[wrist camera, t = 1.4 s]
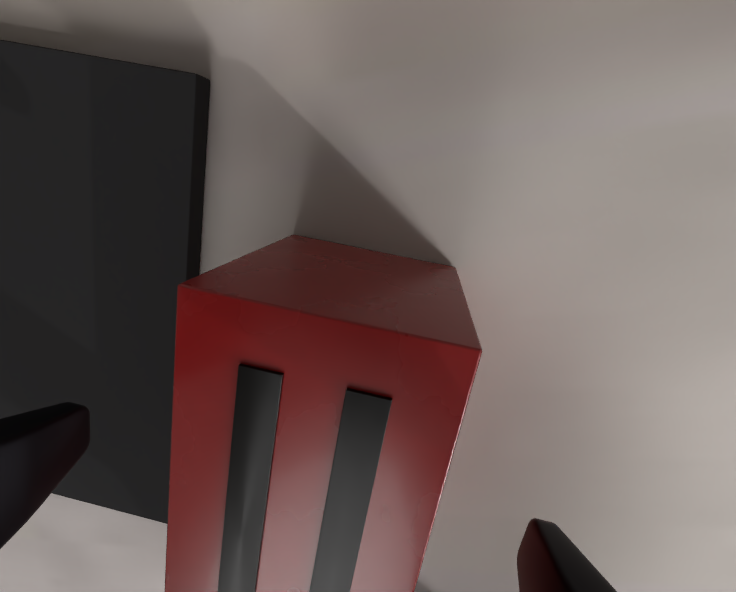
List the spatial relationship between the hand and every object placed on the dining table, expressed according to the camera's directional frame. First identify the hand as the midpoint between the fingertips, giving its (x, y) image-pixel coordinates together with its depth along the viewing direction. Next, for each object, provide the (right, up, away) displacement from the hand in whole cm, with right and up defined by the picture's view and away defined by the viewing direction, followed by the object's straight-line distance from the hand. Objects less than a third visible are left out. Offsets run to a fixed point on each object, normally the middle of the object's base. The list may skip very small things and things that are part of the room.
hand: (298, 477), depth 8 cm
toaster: (+1, 0, +10) cm, 10 cm away
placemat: (-13, +4, +11) cm, 17 cm away
